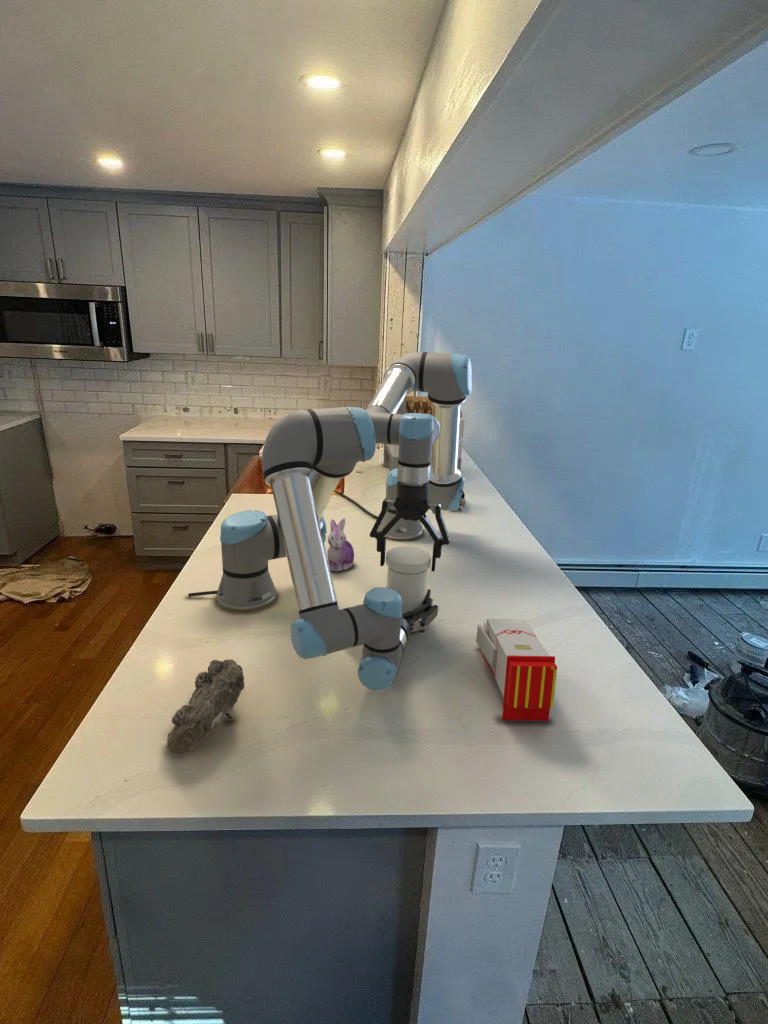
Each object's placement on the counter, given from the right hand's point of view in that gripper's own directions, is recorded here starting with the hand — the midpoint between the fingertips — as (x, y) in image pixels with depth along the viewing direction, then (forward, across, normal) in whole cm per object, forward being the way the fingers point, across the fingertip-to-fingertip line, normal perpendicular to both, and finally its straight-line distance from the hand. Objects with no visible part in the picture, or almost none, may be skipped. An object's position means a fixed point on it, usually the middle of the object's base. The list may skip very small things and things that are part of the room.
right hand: (407, 566), depth 138 cm
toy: (+16, -25, +18) cm, 35 cm away
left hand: (+9, 0, -4) cm, 10 cm away
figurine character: (+16, -9, -94) cm, 96 cm away
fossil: (+16, +32, +43) cm, 55 cm away
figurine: (+16, +23, -28) cm, 40 cm away
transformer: (+16, +10, -139) cm, 141 cm away
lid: (-3, 0, 0) cm, 3 cm away
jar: (+16, 0, 0) cm, 16 cm away
